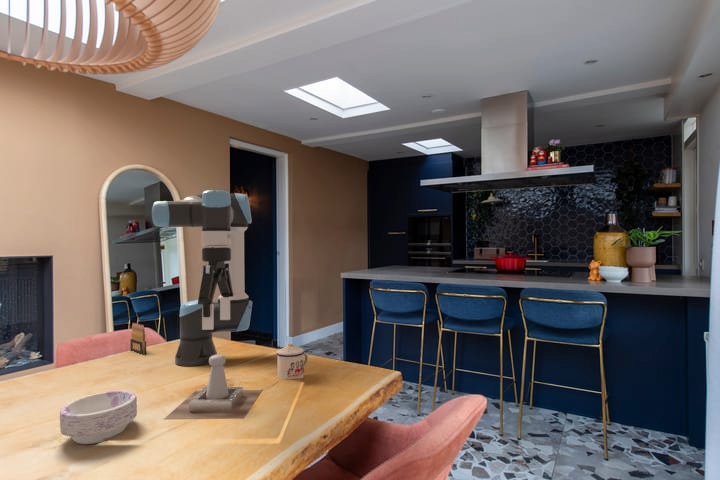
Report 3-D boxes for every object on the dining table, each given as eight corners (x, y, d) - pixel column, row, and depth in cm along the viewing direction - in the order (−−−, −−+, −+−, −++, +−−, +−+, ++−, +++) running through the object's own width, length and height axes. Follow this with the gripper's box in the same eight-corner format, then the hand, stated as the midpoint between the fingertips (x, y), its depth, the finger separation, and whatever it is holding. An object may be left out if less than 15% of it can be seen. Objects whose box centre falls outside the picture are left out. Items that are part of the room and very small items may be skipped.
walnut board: (195, 394, 122) (195, 390, 122) (262, 393, 122) (262, 389, 122) (163, 423, 102) (163, 419, 102) (243, 422, 102) (243, 418, 102)
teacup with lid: (289, 384, 129) (288, 347, 130) (271, 378, 135) (270, 343, 135) (316, 375, 139) (316, 340, 139) (298, 370, 144) (298, 337, 145)
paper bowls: (42, 446, 90) (42, 410, 91) (102, 418, 105) (102, 387, 105) (97, 455, 86) (96, 417, 87) (151, 424, 101) (151, 392, 101)
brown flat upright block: (130, 350, 174) (130, 322, 174) (134, 349, 176) (134, 322, 176) (141, 354, 168) (141, 325, 168) (146, 353, 169) (146, 324, 169)
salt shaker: (224, 407, 109) (224, 358, 109) (202, 407, 109) (202, 358, 109) (231, 399, 115) (231, 352, 115) (211, 399, 115) (210, 352, 115)
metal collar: (204, 396, 117) (204, 387, 117) (243, 395, 117) (243, 386, 117) (189, 411, 106) (189, 402, 106) (231, 411, 106) (231, 401, 106)
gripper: (214, 247, 100) (214, 334, 100) (243, 246, 125) (243, 316, 125) (183, 247, 100) (184, 334, 100) (218, 246, 125) (218, 316, 125)
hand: (217, 324), depth 112 cm, fingers open, 13 cm apart
